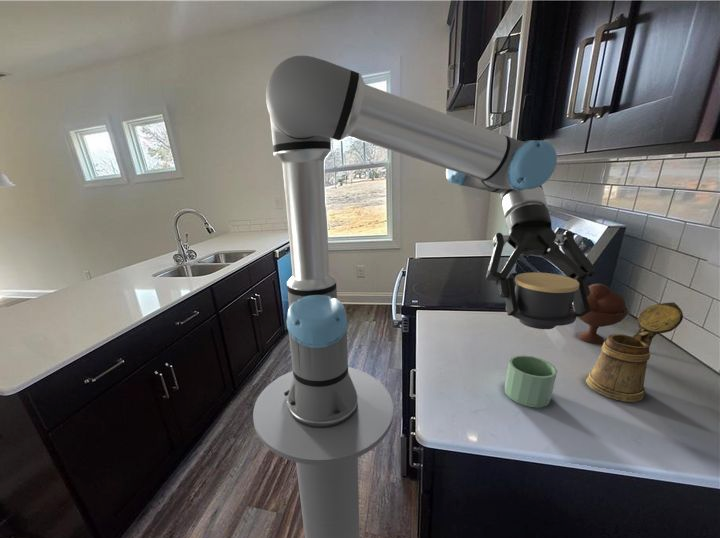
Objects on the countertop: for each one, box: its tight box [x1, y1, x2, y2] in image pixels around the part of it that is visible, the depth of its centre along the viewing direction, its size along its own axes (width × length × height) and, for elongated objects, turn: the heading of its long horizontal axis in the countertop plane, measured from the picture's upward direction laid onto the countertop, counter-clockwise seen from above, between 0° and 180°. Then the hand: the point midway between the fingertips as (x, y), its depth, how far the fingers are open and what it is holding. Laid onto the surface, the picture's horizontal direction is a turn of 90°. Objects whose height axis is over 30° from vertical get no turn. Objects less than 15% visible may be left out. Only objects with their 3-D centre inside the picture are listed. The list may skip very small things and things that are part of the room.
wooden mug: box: [585, 301, 684, 403], centre depth 63 cm, size 9×14×18 cm, turn 103°
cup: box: [504, 354, 558, 408], centre depth 65 cm, size 8×8×7 cm
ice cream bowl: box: [572, 283, 629, 345], centre depth 82 cm, size 11×11×15 cm
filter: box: [505, 271, 579, 330], centre depth 59 cm, size 11×11×9 cm
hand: (547, 313), depth 57 cm, fingers closed on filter, 11 cm apart
